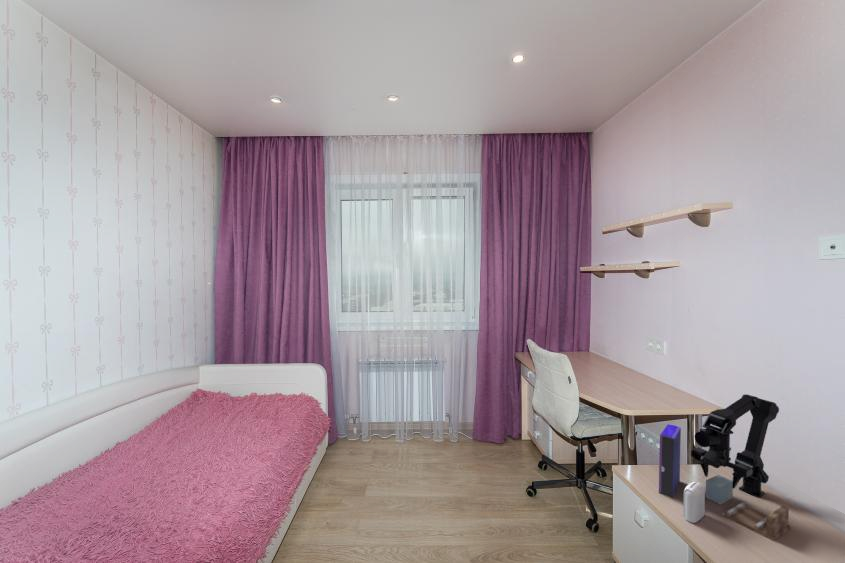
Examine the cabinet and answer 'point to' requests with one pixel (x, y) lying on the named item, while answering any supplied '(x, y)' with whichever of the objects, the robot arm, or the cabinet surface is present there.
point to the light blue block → (719, 489)
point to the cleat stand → (760, 520)
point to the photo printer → (694, 502)
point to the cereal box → (669, 460)
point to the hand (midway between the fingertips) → (719, 482)
